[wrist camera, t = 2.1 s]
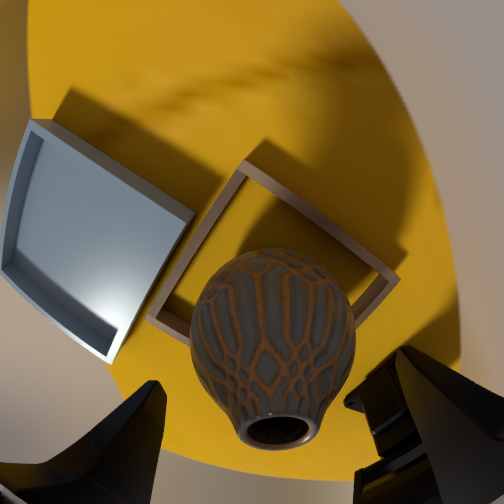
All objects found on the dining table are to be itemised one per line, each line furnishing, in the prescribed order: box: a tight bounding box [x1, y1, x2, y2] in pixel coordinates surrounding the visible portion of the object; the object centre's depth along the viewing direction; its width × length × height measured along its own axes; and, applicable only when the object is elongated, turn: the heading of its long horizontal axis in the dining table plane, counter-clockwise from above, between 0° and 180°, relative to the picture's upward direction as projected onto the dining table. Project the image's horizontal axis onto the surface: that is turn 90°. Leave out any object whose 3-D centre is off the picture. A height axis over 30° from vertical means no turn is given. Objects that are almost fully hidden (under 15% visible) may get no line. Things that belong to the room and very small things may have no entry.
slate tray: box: [0, 119, 196, 365], centre depth 13 cm, size 11×11×2 cm
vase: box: [190, 248, 356, 451], centre depth 11 cm, size 7×7×9 cm
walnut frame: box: [144, 159, 401, 346], centre depth 14 cm, size 10×10×1 cm
